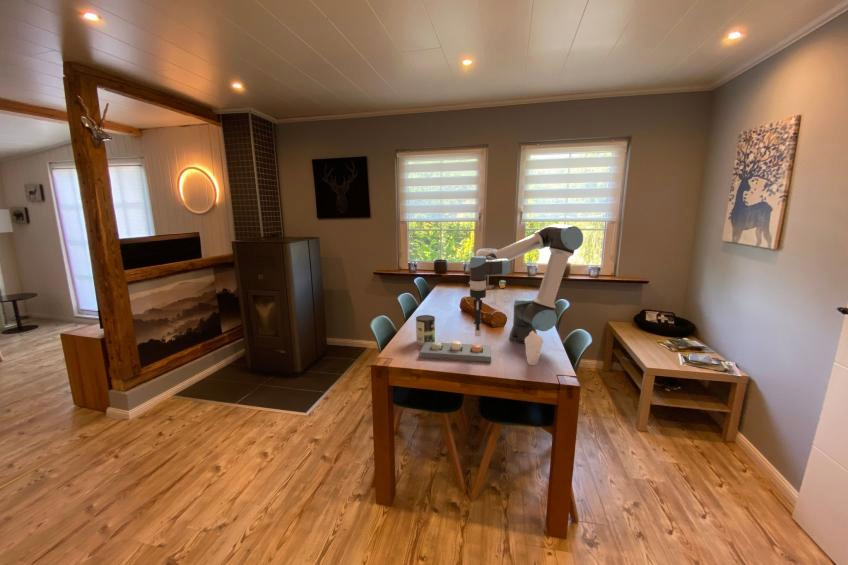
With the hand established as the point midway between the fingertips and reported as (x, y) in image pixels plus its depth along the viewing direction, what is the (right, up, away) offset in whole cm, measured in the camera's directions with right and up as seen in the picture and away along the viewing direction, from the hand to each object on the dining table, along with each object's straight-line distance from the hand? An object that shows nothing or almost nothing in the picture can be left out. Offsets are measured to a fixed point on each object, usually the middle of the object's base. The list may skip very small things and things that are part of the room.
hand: (477, 335), depth 168 cm
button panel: (-10, -10, +4) cm, 15 cm away
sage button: (-20, -9, +5) cm, 22 cm away
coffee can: (-25, -7, +20) cm, 33 cm away
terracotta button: (0, -9, +2) cm, 9 cm away
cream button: (-10, -8, +3) cm, 13 cm away
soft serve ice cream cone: (+24, -12, -7) cm, 28 cm away
